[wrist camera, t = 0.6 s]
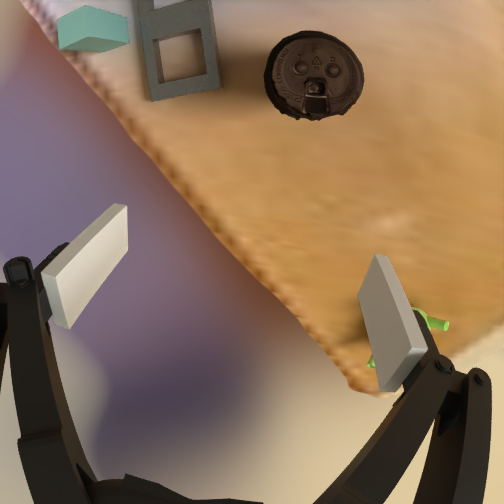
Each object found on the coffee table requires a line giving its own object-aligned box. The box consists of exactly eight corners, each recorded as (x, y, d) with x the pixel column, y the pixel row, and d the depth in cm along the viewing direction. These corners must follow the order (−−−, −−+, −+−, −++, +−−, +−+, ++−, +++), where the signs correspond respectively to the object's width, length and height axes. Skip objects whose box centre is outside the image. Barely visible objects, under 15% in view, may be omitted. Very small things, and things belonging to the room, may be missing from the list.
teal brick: (101, 27, 30) (56, 19, 22) (126, 17, 30) (85, 5, 21) (104, 52, 32) (59, 49, 24) (129, 43, 32) (88, 36, 23)
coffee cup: (307, 127, 36) (319, 147, 25) (253, 84, 34) (239, 83, 23) (354, 78, 32) (387, 75, 21) (300, 33, 30) (308, 7, 19)
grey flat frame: (140, -31, 26) (134, -35, 24) (204, -48, 25) (200, -54, 23) (157, 100, 36) (151, 101, 34) (223, 88, 34) (220, 88, 33)
